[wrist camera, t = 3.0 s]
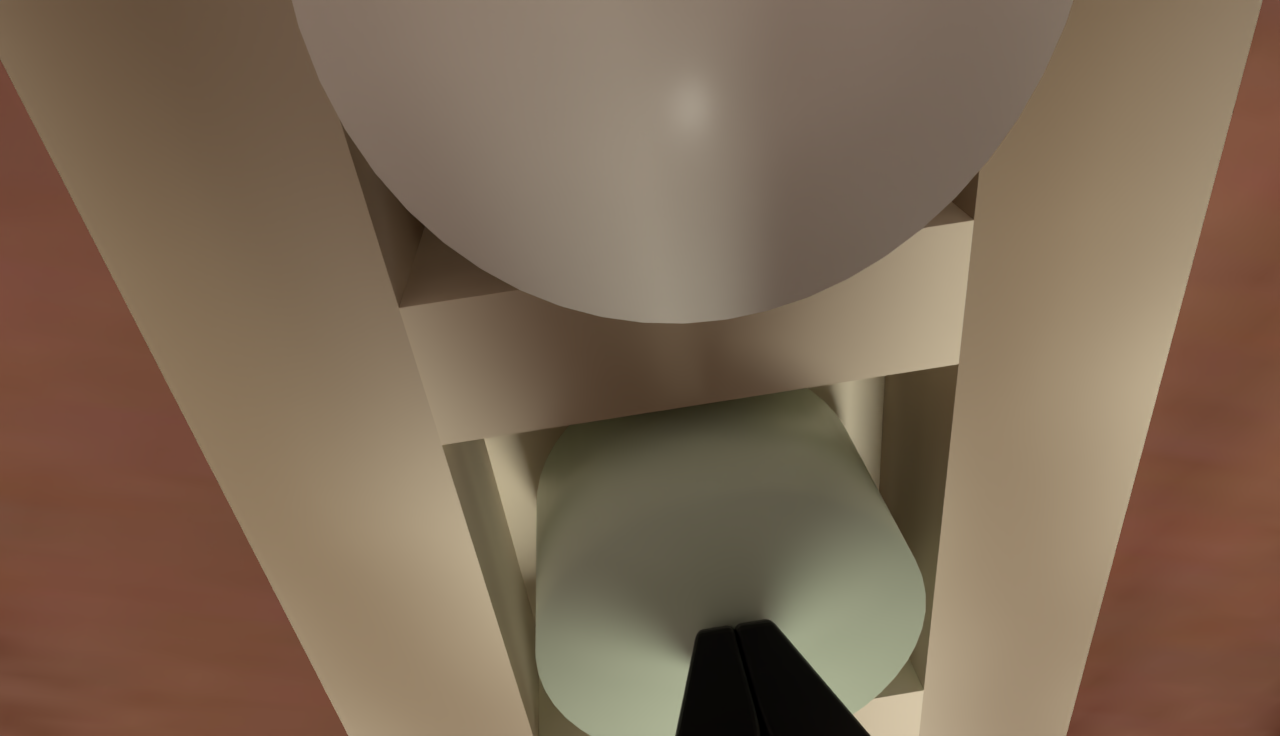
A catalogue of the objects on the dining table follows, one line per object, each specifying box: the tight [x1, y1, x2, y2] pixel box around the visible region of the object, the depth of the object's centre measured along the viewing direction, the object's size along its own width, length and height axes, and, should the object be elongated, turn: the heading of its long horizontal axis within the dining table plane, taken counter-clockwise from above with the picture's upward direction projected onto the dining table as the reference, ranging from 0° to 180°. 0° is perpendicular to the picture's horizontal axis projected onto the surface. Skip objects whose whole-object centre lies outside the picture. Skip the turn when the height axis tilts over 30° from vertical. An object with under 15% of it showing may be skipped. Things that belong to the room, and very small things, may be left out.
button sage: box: [535, 388, 926, 736], centre depth 10 cm, size 4×4×2 cm
